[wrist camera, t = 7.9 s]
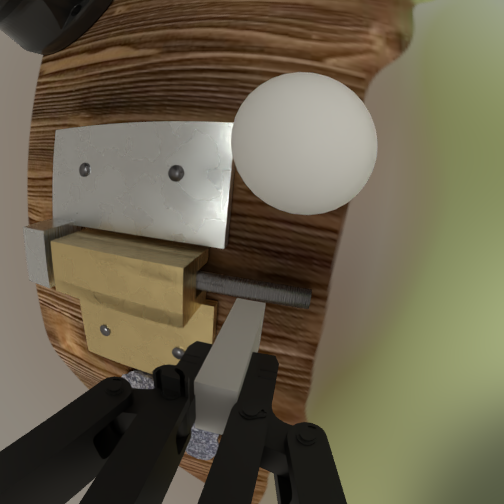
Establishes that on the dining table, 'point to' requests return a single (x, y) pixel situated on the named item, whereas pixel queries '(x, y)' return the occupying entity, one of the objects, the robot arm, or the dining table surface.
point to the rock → (201, 440)
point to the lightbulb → (304, 143)
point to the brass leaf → (135, 295)
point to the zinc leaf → (148, 195)
